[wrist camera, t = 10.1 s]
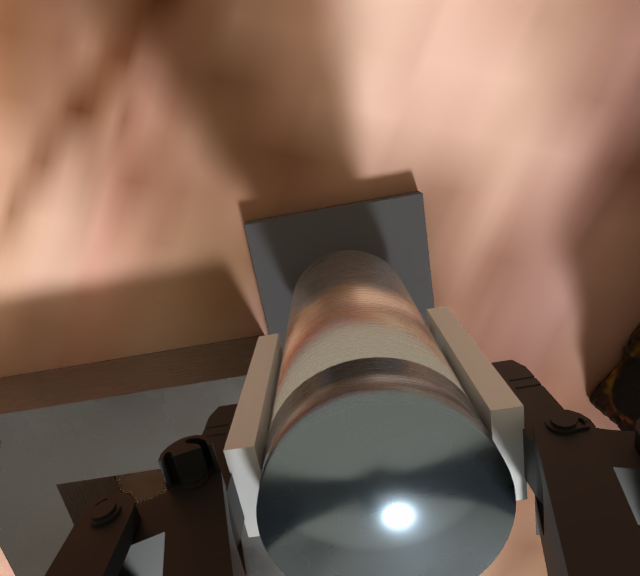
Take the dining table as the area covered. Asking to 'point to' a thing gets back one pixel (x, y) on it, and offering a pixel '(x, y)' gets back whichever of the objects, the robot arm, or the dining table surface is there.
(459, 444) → the silver metal cylinder
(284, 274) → the coaster
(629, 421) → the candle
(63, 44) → the dining table surface
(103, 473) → the housing
